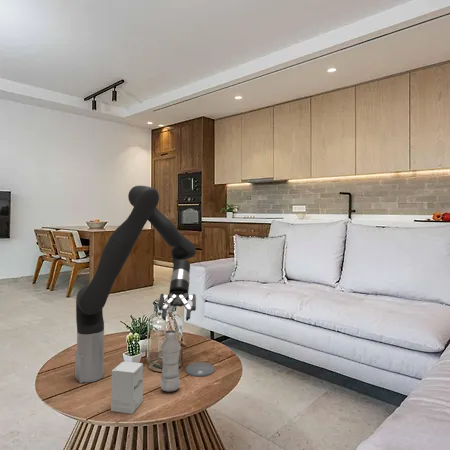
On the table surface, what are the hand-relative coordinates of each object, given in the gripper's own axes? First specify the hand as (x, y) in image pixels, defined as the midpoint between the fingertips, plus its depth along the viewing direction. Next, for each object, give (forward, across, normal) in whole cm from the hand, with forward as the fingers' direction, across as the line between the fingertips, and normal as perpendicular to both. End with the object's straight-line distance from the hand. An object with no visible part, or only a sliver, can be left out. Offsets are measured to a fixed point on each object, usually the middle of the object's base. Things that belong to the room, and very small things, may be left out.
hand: (175, 319), depth 133 cm
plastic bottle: (+23, 0, +6) cm, 24 cm away
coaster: (+12, +9, +17) cm, 23 cm away
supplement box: (+31, -12, -1) cm, 33 cm away
